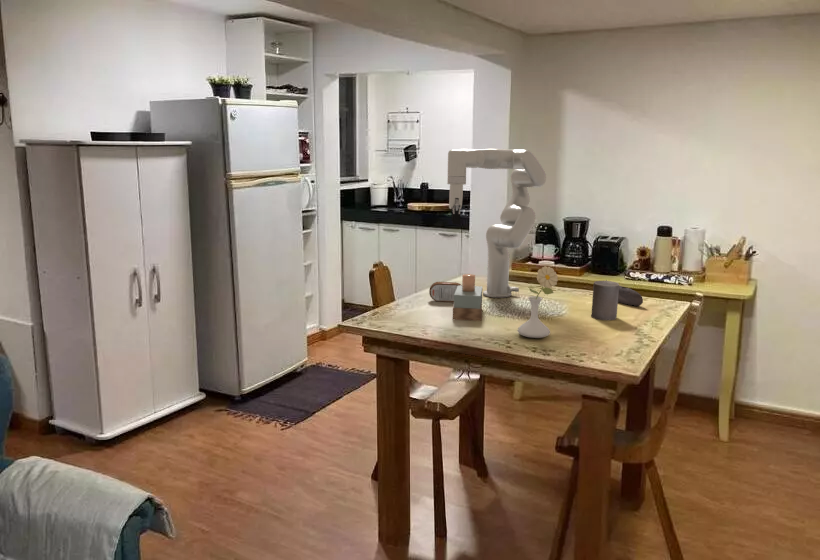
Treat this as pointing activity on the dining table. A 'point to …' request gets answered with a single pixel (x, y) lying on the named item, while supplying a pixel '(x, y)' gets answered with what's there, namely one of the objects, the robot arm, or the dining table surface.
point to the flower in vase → (534, 325)
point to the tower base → (467, 313)
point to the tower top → (468, 298)
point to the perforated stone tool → (629, 296)
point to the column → (468, 282)
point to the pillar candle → (605, 300)
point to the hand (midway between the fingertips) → (455, 222)
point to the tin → (443, 291)
